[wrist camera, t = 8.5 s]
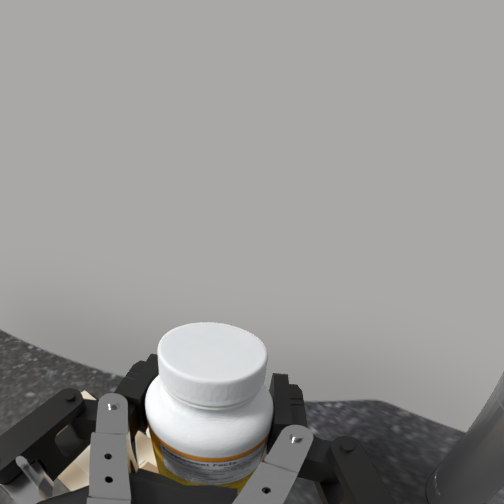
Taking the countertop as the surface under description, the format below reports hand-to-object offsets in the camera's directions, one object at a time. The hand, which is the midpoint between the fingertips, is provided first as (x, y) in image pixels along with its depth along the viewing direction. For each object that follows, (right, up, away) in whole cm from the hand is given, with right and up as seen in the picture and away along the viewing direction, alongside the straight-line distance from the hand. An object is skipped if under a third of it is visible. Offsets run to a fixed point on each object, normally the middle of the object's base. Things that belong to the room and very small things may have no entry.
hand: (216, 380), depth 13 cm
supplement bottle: (-1, -7, -1) cm, 7 cm away
